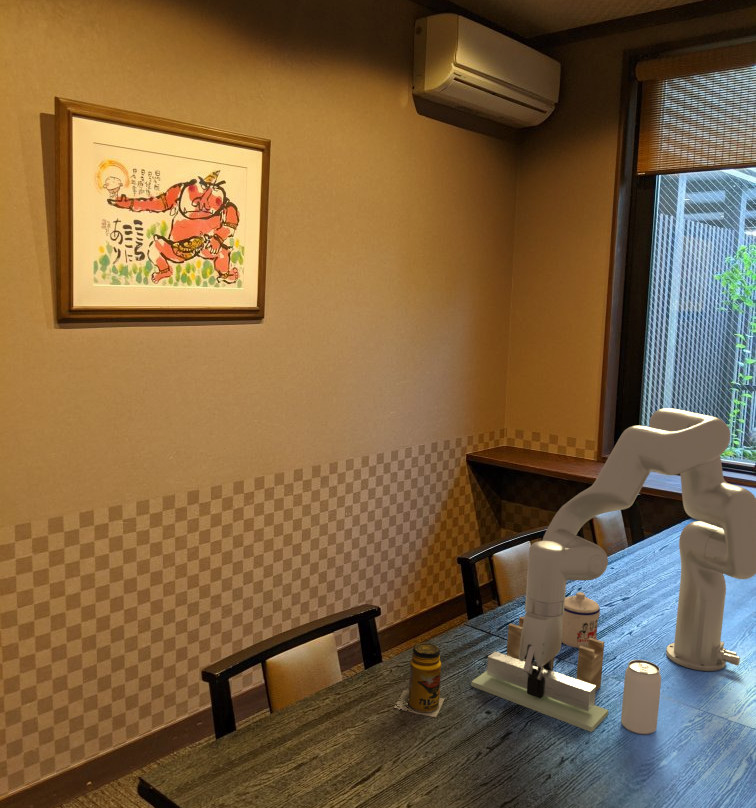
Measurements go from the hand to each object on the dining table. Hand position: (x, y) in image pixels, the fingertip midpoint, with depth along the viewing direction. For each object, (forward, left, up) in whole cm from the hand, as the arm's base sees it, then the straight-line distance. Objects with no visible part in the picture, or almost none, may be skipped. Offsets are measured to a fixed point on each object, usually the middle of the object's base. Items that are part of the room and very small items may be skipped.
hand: (539, 691), depth 159 cm
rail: (0, 0, 0) cm, 0 cm away
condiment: (+17, +17, -2) cm, 24 cm away
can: (-19, -4, -2) cm, 19 cm away
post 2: (-6, -11, -2) cm, 12 cm away
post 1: (+10, -11, -2) cm, 15 cm away
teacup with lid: (+5, -33, -2) cm, 33 cm away
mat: (0, 0, -2) cm, 2 cm away
